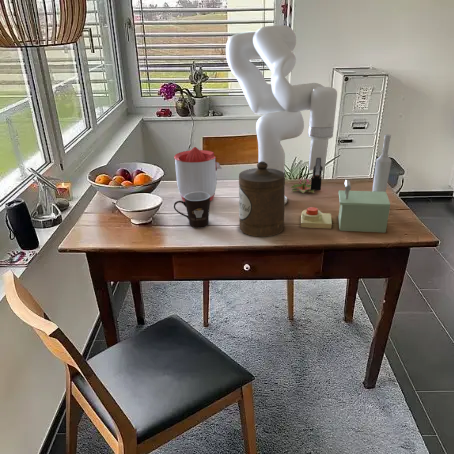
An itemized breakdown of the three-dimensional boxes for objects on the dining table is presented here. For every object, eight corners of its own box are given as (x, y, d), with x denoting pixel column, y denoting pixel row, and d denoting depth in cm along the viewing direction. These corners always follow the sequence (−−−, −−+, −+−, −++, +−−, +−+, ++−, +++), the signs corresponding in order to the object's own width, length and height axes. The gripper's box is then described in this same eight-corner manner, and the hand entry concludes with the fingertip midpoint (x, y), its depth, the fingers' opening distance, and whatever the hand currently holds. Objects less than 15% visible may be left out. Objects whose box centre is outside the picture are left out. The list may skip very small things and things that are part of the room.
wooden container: (240, 219, 165) (239, 155, 153) (282, 219, 164) (285, 155, 152) (238, 237, 152) (237, 169, 140) (284, 237, 151) (287, 169, 139)
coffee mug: (215, 220, 164) (213, 193, 159) (206, 230, 157) (204, 202, 152) (184, 217, 167) (182, 190, 162) (174, 226, 160) (171, 198, 155)
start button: (306, 215, 158) (306, 210, 157) (306, 211, 161) (307, 206, 160) (317, 216, 158) (317, 211, 157) (317, 212, 161) (317, 207, 160)
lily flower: (319, 185, 192) (320, 174, 190) (317, 195, 182) (318, 184, 180) (289, 184, 195) (290, 173, 192) (286, 194, 185) (287, 182, 182)
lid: (339, 204, 150) (341, 188, 147) (338, 192, 160) (340, 176, 157) (390, 206, 148) (393, 190, 145) (385, 193, 158) (388, 178, 155)
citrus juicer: (225, 205, 176) (224, 151, 165) (178, 208, 174) (174, 154, 163) (219, 191, 189) (218, 140, 179) (176, 194, 187) (172, 143, 177)
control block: (300, 227, 158) (301, 217, 156) (301, 216, 165) (302, 207, 163) (331, 228, 156) (332, 218, 154) (330, 218, 164) (331, 208, 162)
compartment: (339, 230, 155) (342, 205, 150) (338, 217, 164) (341, 192, 160) (385, 232, 153) (390, 206, 148) (381, 218, 162) (385, 194, 158)
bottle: (382, 202, 175) (394, 133, 162) (385, 208, 170) (397, 136, 157) (368, 202, 175) (378, 133, 162) (370, 207, 171) (381, 136, 158)
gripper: (309, 125, 152) (304, 181, 162) (307, 137, 139) (303, 196, 149) (332, 126, 150) (327, 182, 160) (333, 138, 138) (327, 197, 148)
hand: (315, 189), depth 155 cm, fingers closed
